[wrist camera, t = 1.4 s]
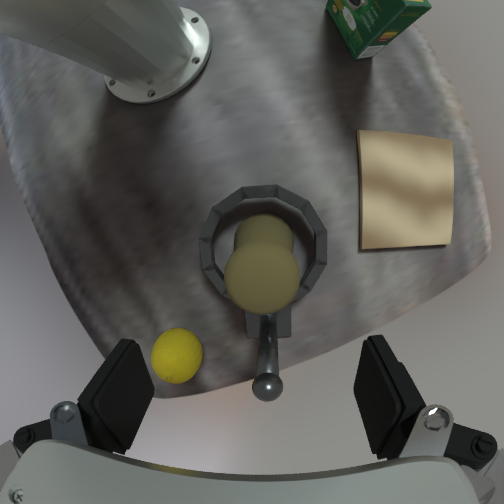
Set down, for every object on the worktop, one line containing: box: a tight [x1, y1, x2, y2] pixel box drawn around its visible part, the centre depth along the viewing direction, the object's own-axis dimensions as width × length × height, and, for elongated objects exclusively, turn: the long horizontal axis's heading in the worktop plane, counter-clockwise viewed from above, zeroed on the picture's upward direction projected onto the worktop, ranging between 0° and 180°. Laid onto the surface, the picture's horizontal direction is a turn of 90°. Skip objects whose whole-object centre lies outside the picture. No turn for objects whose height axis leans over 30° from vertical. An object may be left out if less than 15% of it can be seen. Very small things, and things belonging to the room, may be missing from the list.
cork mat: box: [357, 130, 454, 249], centre depth 25 cm, size 12×12×1 cm
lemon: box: [151, 328, 203, 384], centre depth 28 cm, size 6×6×8 cm
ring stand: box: [199, 184, 327, 401], centre depth 22 cm, size 17×12×12 cm
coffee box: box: [326, 0, 432, 60], centre depth 14 cm, size 8×3×13 cm, turn 19°
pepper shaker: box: [224, 213, 300, 315], centre depth 22 cm, size 6×6×11 cm
